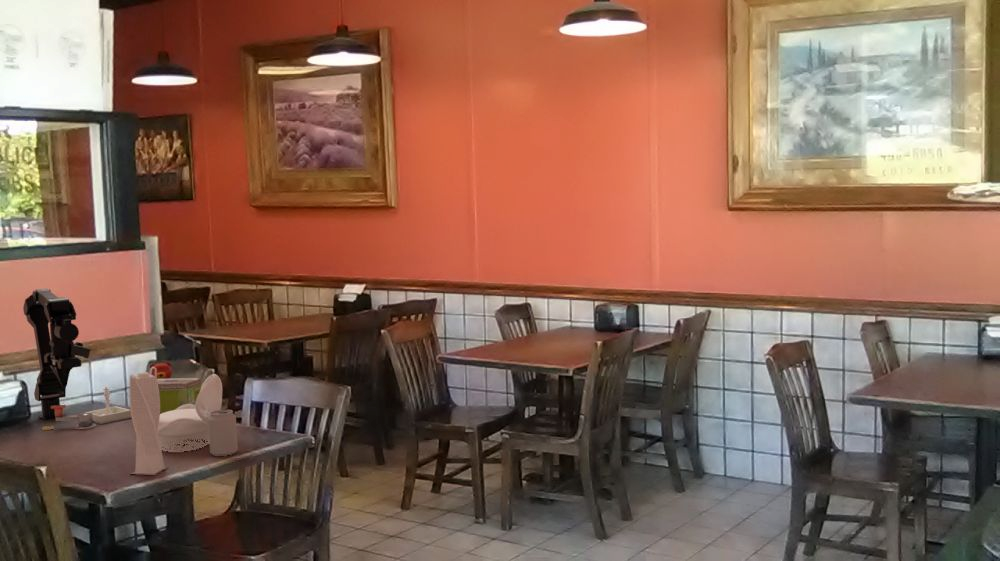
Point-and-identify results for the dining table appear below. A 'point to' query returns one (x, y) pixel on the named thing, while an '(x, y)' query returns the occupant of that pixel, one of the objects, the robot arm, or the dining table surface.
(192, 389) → the tea box
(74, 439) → the dining table surface
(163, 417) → the chair
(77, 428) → the crank base
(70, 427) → the dining table surface
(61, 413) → the crank
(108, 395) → the chess piece
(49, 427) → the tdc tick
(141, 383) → the skyscraper
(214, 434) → the can
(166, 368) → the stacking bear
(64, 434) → the dining table surface
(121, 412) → the tray
